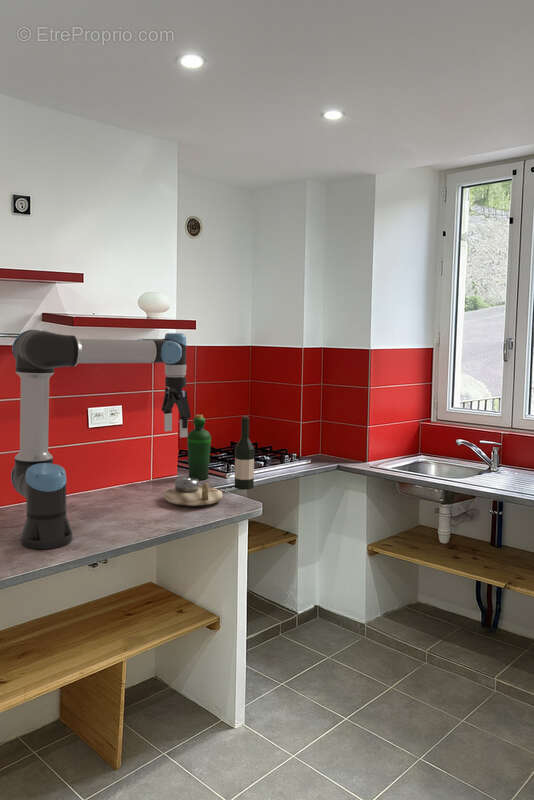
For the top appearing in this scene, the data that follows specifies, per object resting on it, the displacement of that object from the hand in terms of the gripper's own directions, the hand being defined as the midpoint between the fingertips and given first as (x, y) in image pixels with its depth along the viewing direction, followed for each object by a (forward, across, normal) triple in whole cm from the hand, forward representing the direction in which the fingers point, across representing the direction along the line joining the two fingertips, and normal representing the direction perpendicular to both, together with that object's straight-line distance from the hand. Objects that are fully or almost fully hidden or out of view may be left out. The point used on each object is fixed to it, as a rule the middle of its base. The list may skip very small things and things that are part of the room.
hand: (175, 434), depth 239 cm
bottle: (+28, +35, -27) cm, 52 cm away
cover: (+25, +10, -9) cm, 28 cm away
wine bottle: (+28, +14, -37) cm, 48 cm away
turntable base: (+28, +4, -9) cm, 29 cm away
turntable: (+26, +4, -9) cm, 28 cm away
